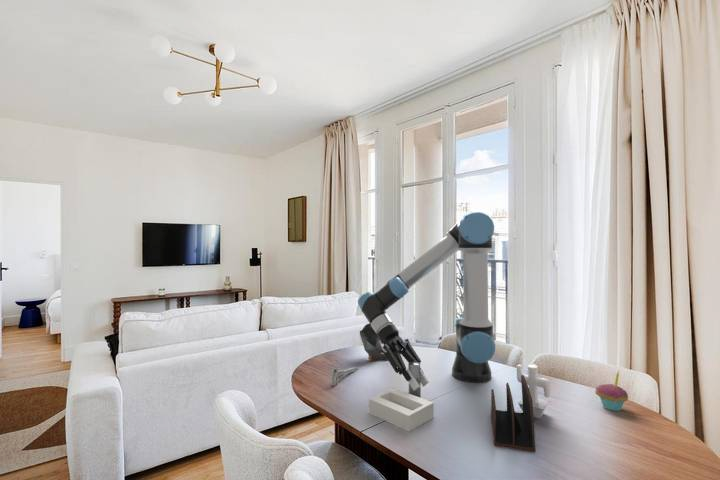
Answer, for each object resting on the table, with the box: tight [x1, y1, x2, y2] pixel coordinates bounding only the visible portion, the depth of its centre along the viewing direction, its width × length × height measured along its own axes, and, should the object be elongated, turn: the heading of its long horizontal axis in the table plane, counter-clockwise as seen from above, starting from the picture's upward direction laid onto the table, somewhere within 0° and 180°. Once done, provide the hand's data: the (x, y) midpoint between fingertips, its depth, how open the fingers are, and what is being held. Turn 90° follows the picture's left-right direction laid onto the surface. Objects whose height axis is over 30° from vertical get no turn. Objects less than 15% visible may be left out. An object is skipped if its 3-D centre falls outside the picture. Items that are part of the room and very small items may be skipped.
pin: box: [407, 362, 422, 398], centre depth 123 cm, size 4×4×12 cm
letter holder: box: [490, 375, 536, 453], centre depth 102 cm, size 10×20×14 cm, turn 162°
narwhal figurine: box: [359, 322, 388, 362], centre depth 167 cm, size 14×15×18 cm
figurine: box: [516, 363, 551, 420], centre depth 111 cm, size 7×9×15 cm
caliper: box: [331, 366, 359, 387], centre depth 144 cm, size 21×1×6 cm, turn 156°
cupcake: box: [594, 370, 629, 412], centre depth 115 cm, size 9×8×12 cm
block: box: [368, 387, 435, 432], centre depth 111 cm, size 16×12×4 cm
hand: (421, 386), depth 121 cm, fingers open, 4 cm apart
